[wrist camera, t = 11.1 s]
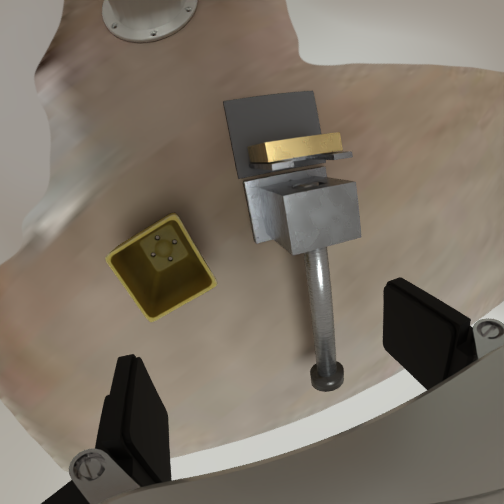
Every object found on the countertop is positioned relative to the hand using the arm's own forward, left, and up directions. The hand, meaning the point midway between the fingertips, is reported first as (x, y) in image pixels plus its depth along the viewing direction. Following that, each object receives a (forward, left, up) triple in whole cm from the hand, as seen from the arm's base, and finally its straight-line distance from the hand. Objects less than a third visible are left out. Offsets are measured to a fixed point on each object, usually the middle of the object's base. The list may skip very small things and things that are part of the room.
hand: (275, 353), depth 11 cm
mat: (-8, +11, -30) cm, 33 cm away
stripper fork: (-5, +11, -30) cm, 33 cm away
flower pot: (+3, -6, -31) cm, 31 cm away
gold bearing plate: (-6, +11, -30) cm, 32 cm away
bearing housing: (+1, +11, -30) cm, 32 cm away
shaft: (+12, +11, -26) cm, 30 cm away
